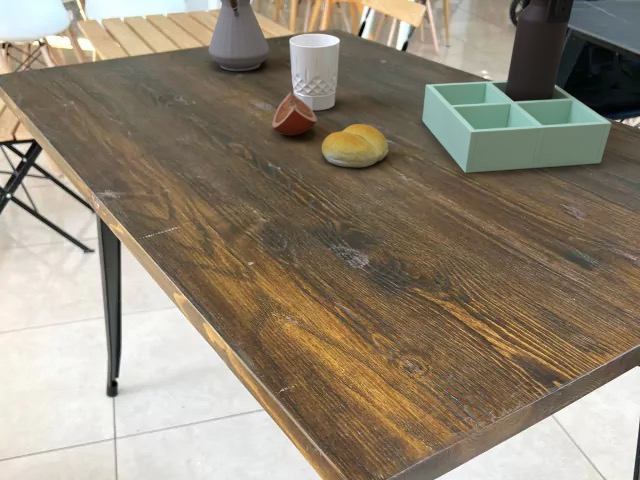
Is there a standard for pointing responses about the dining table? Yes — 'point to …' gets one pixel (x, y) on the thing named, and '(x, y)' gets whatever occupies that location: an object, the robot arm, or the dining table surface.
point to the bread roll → (355, 146)
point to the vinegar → (535, 54)
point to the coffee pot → (238, 37)
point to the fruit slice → (293, 116)
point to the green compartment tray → (512, 127)
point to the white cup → (315, 69)
